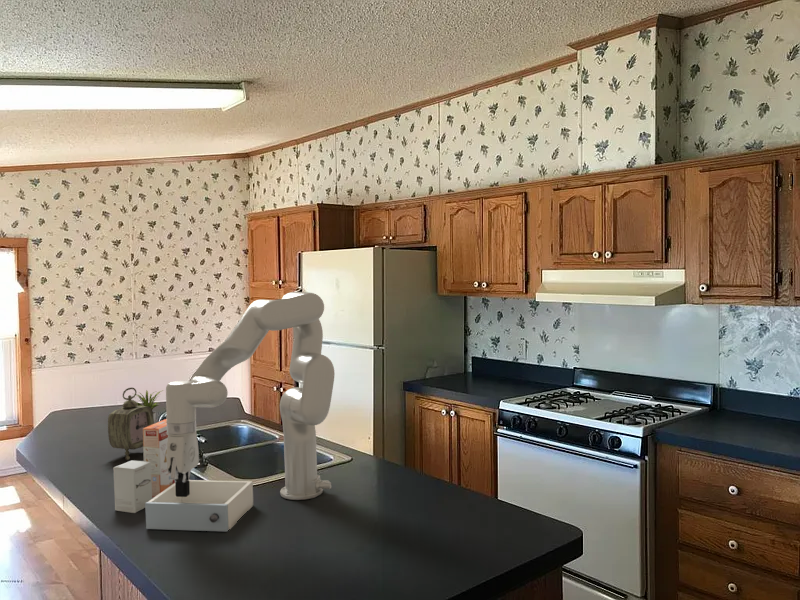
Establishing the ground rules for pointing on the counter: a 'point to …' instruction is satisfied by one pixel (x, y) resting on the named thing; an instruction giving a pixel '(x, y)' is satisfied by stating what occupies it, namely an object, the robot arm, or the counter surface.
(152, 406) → the house plant
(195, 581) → the counter surface
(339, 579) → the counter surface
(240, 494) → the case
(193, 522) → the side door
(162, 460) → the cracker box
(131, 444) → the tabletop clock
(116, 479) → the supplement box
